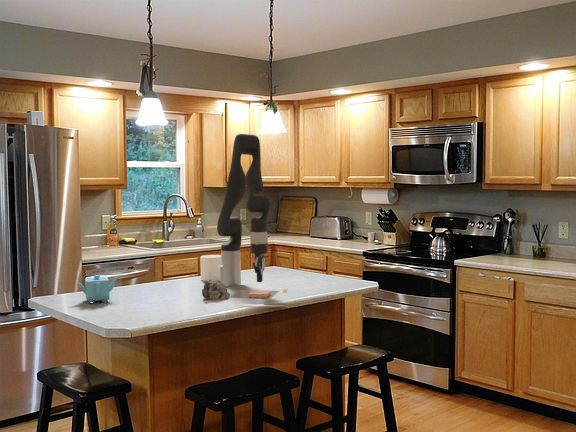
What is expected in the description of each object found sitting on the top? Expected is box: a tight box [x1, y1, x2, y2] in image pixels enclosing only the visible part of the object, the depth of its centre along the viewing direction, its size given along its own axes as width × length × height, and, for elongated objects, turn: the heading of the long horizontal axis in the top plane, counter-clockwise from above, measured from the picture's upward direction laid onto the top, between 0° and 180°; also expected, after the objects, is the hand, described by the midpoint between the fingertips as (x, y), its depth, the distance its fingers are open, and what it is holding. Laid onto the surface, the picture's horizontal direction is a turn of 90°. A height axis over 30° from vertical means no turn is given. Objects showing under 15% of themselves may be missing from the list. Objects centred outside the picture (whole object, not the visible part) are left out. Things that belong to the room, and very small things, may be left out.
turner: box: [281, 288, 289, 294], centre depth 285 cm, size 16×4×1 cm, turn 173°
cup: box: [199, 254, 222, 282], centre depth 327 cm, size 12×12×12 cm
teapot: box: [76, 274, 120, 303], centre depth 275 cm, size 16×18×11 cm
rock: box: [201, 280, 231, 300], centre depth 276 cm, size 13×10×10 cm
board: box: [229, 289, 280, 300], centre depth 282 cm, size 18×18×1 cm
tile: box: [248, 289, 272, 299], centre depth 277 cm, size 8×2×8 cm
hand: (259, 281), depth 278 cm, fingers closed
